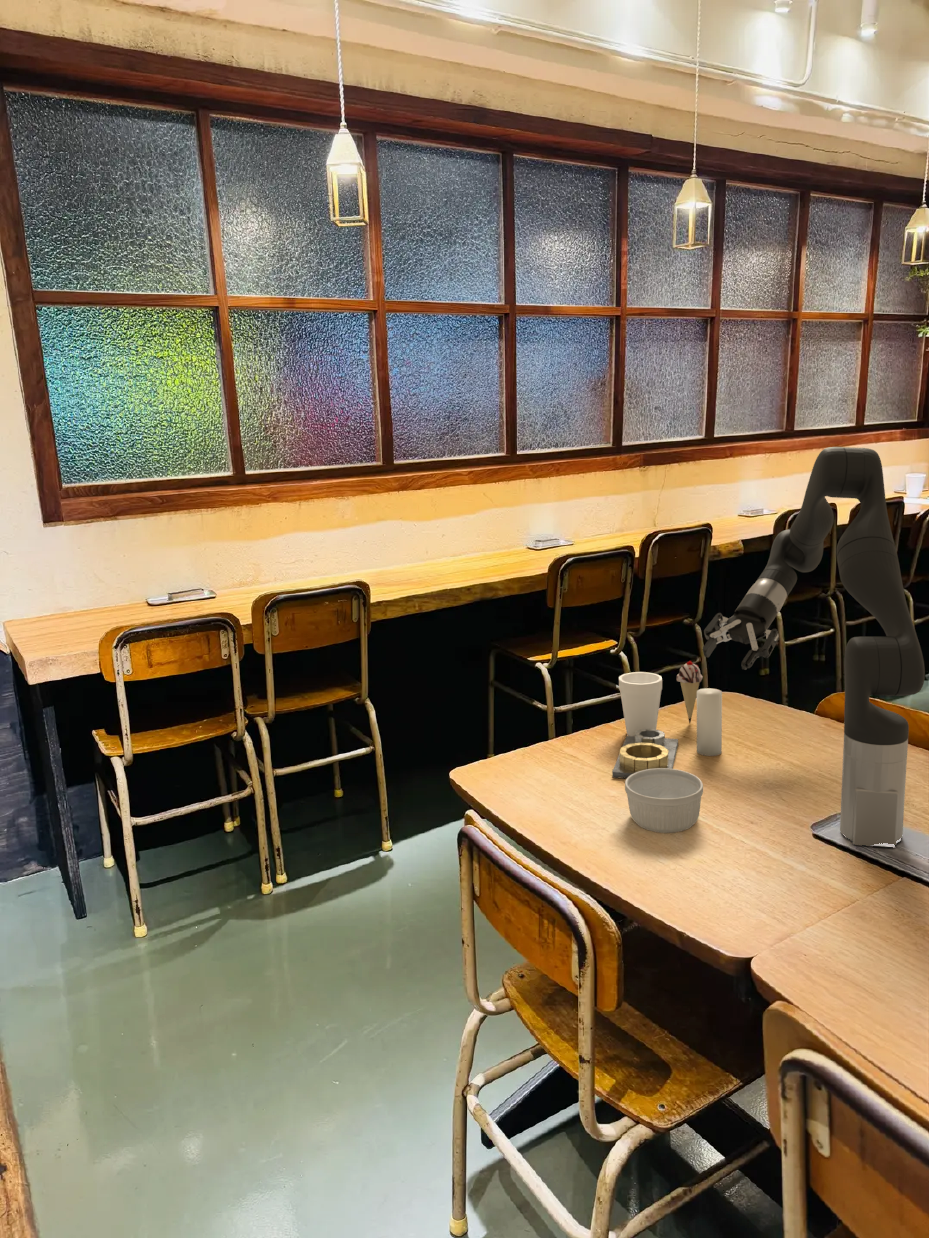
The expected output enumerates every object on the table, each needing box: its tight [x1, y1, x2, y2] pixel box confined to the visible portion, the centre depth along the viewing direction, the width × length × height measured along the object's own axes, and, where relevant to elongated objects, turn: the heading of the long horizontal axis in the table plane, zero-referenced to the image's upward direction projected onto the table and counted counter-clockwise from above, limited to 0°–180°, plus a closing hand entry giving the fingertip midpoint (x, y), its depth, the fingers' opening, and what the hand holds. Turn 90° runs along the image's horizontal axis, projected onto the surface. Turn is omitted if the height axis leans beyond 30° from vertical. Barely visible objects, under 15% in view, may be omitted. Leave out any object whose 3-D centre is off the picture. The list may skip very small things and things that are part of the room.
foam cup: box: [618, 671, 663, 736], centre depth 187 cm, size 10×9×13 cm
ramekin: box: [624, 768, 704, 834], centre depth 147 cm, size 13×13×7 cm
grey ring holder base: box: [611, 728, 679, 780], centre depth 173 cm, size 20×11×4 cm, turn 161°
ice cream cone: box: [676, 660, 704, 724], centre depth 191 cm, size 6×6×15 cm
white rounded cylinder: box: [696, 687, 723, 757], centre depth 175 cm, size 5×5×13 cm
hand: (724, 660), depth 173 cm, fingers open, 8 cm apart
